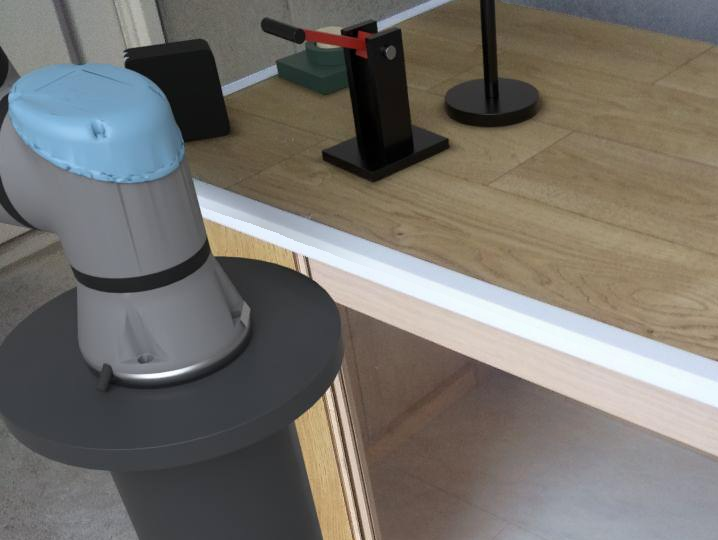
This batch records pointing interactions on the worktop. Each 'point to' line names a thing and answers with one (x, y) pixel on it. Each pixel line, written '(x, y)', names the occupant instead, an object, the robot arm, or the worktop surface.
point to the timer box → (315, 68)
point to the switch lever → (314, 36)
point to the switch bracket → (380, 110)
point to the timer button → (329, 30)
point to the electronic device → (185, 84)
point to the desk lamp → (491, 87)
